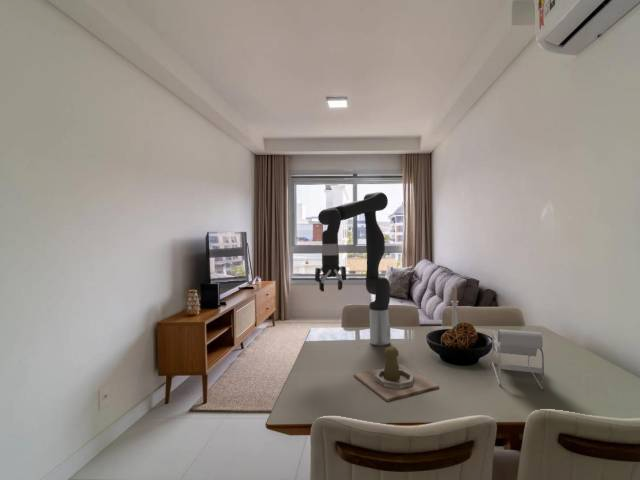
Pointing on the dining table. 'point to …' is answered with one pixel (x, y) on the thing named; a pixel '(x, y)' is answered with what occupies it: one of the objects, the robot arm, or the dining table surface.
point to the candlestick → (454, 307)
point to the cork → (391, 364)
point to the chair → (518, 350)
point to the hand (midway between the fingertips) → (331, 290)
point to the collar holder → (395, 383)
